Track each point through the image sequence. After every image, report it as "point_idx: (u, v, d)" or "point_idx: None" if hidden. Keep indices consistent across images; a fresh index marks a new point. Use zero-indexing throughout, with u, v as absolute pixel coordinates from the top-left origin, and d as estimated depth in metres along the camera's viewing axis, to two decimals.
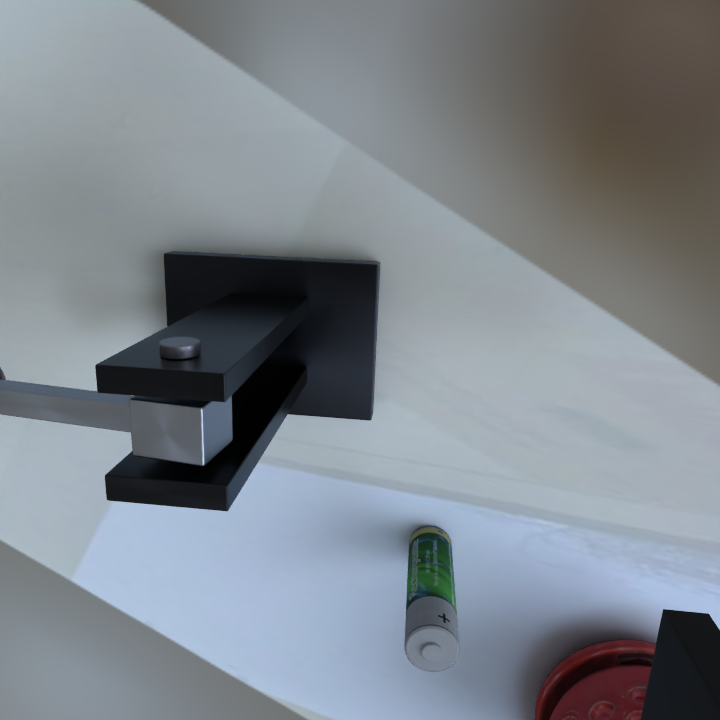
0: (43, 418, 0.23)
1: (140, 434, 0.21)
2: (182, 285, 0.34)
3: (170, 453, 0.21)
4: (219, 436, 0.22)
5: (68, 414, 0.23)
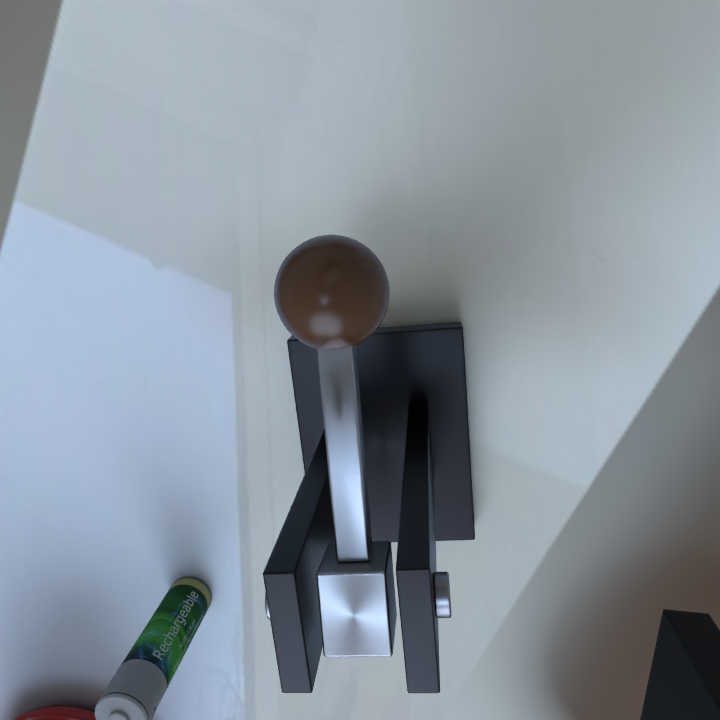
0: (328, 436, 0.19)
1: (345, 585, 0.19)
2: (429, 349, 0.31)
3: (330, 619, 0.19)
4: None
5: (340, 470, 0.19)
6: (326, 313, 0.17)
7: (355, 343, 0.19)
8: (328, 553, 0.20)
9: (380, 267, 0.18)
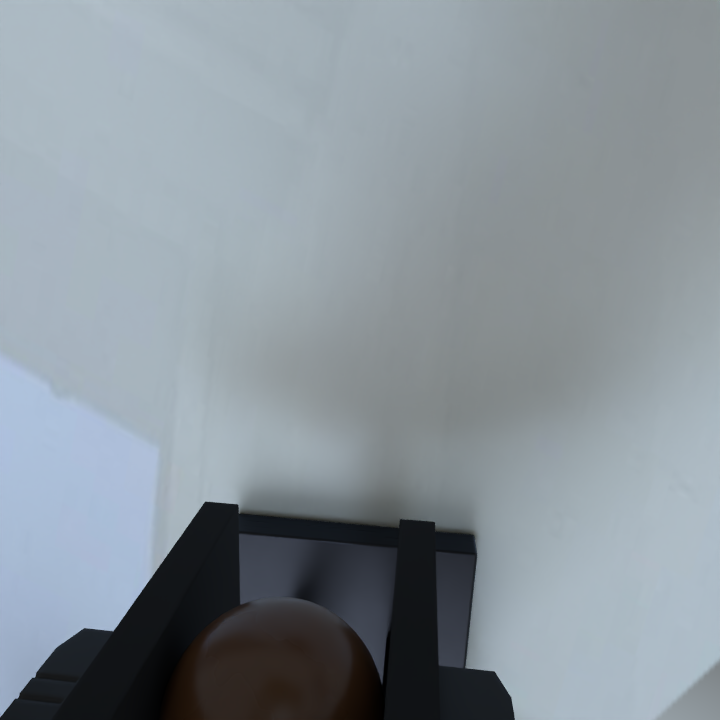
0: None
1: None
2: None
3: None
4: None
5: None
6: None
7: None
8: None
9: (374, 709, 0.09)
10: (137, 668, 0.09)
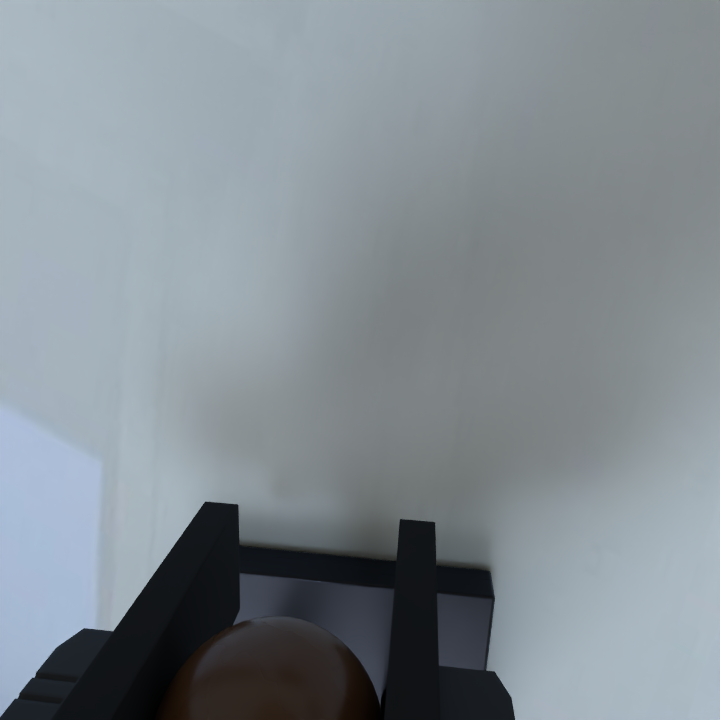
0: None
1: None
2: None
3: None
4: None
5: None
6: None
7: None
8: None
9: (374, 714, 0.09)
10: (137, 668, 0.09)
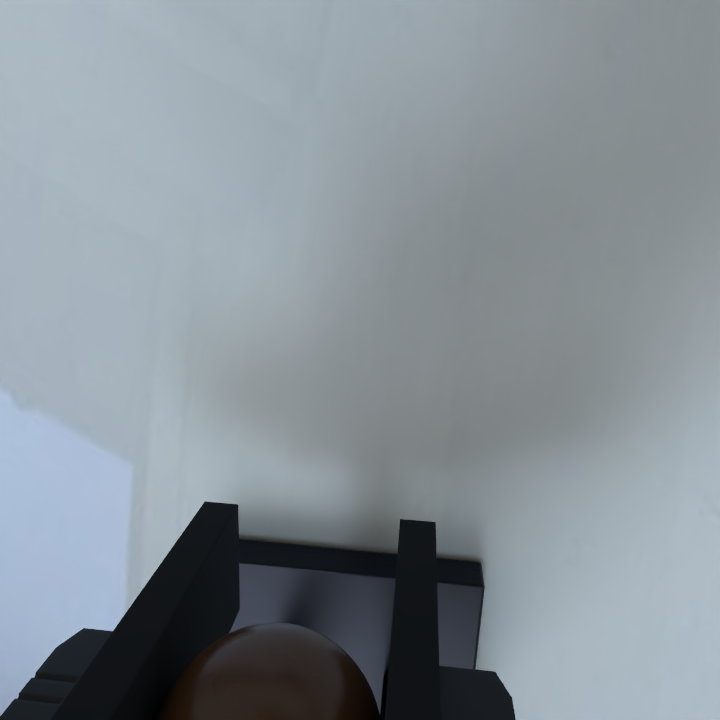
0: None
1: None
2: None
3: None
4: None
5: None
6: None
7: None
8: None
9: None
10: (136, 668, 0.09)
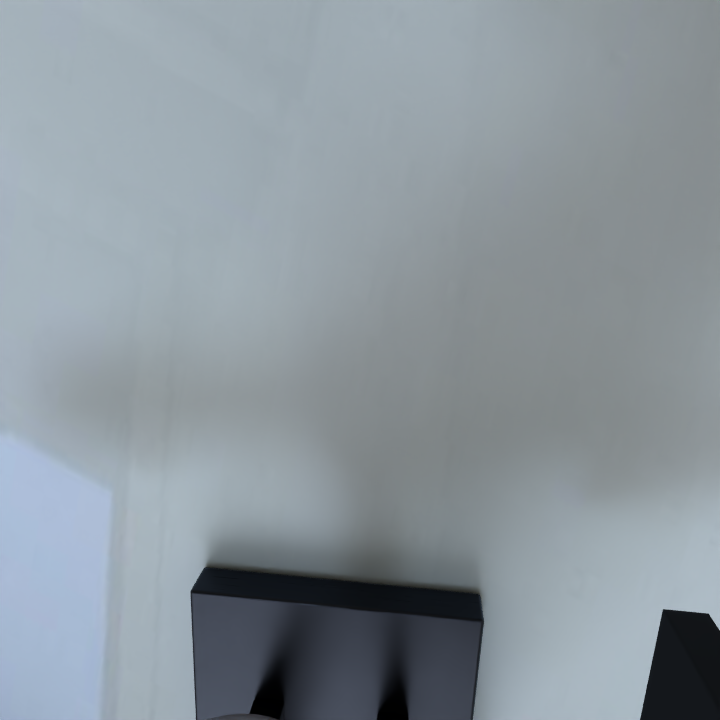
0: None
1: None
2: (423, 644, 0.18)
3: None
4: None
5: None
6: None
7: None
8: None
9: None
10: None
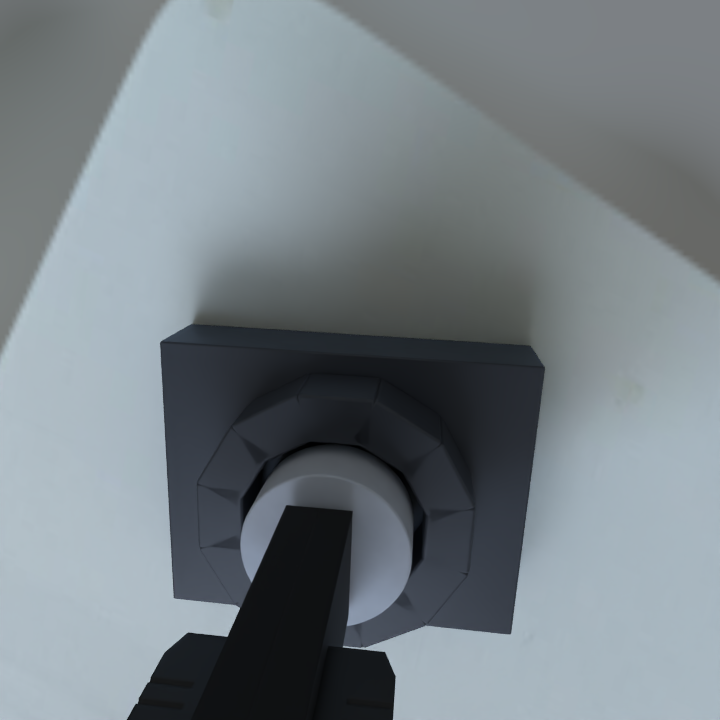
0: None
1: None
2: None
3: None
4: None
5: None
6: None
7: None
8: None
9: None
10: (259, 673, 0.09)
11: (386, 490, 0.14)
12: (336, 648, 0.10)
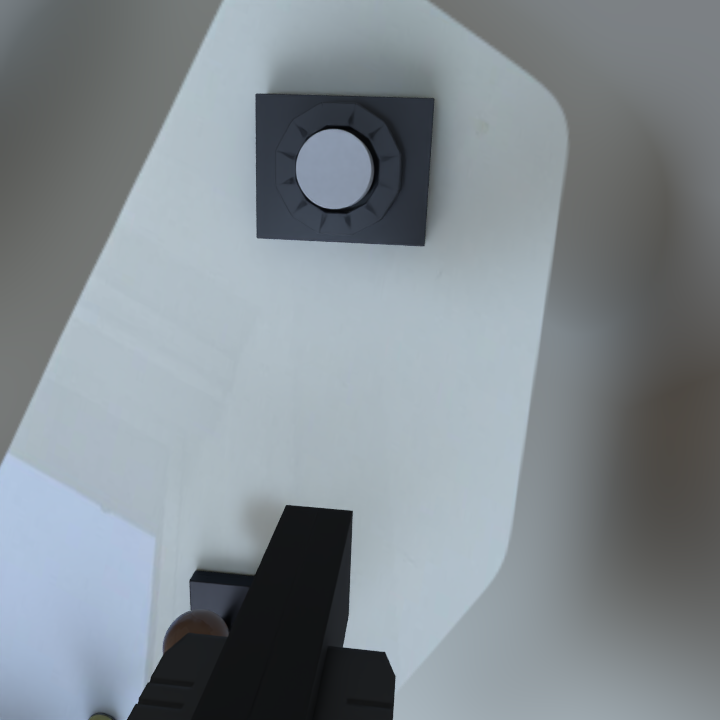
0: None
1: None
2: None
3: None
4: None
5: None
6: None
7: None
8: None
9: None
10: (259, 673, 0.09)
11: (360, 140, 0.32)
12: (336, 648, 0.10)
